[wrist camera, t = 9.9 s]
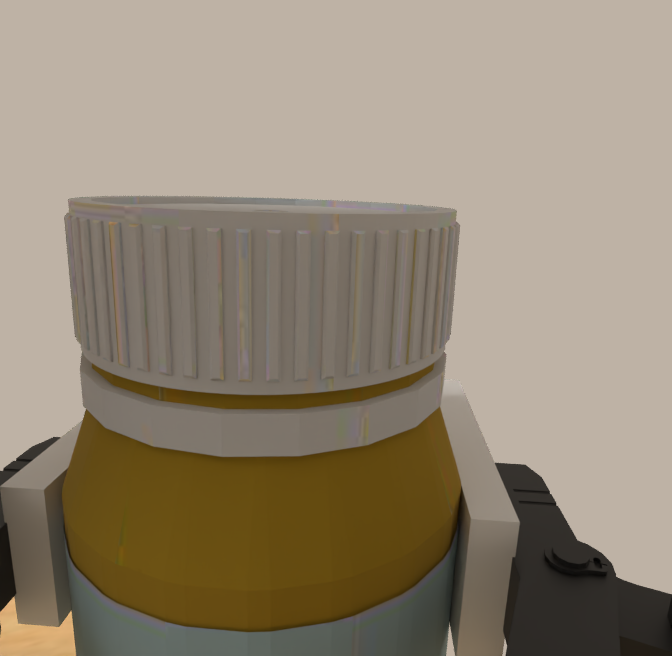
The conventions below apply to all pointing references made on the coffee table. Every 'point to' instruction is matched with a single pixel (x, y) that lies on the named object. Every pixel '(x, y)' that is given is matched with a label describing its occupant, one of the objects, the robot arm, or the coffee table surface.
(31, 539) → the robot arm
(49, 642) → the coffee table surface
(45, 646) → the coffee table surface
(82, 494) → the bottle
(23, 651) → the coffee table surface
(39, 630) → the coffee table surface
